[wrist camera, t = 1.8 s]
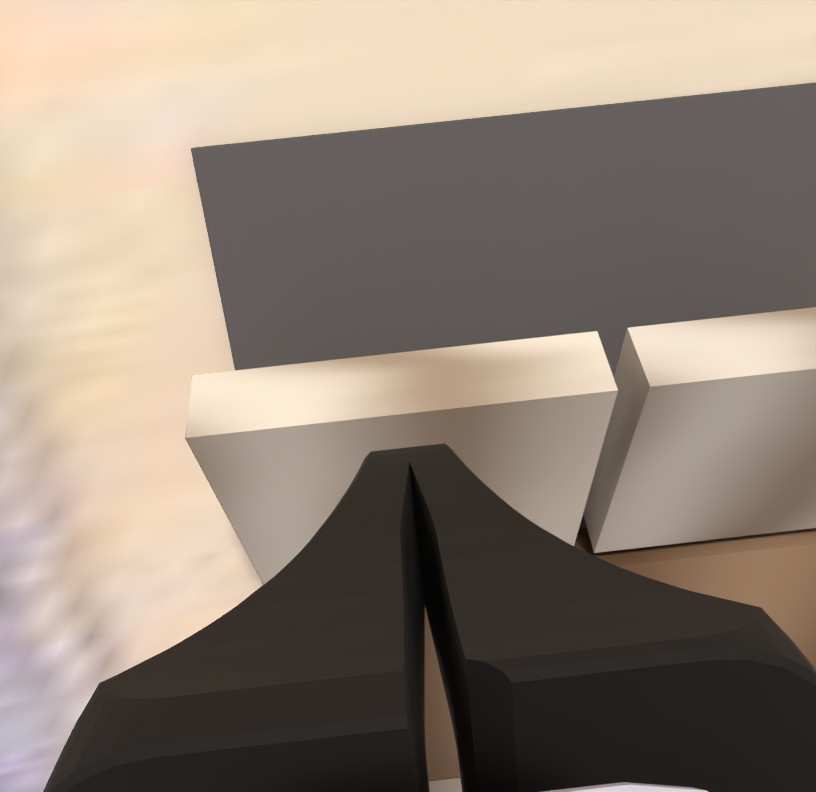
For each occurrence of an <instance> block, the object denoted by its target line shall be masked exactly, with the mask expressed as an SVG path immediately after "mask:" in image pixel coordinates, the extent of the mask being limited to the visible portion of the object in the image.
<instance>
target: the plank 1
mask: <svg viewBox="0 0 816 792" xmlns="http://www.w3.org/2000/svg"><path fill="white" fill-rule="evenodd" d="M617 392H618V389H617V386H616V383H615V380H614V377H613V375H612V372H611V369H610V366H609V363H608V360H607V357H606V355H605V352H604V349H603V346H602V343H601V340H600V338H599V335H598V332H597V331H593V332H584V333H575V334H565V335H556V336H547V337H538V338H529V339H520V340H510V341H501V342H492V343H483V344H474V345H465V346H455V347H446V348H437V349H428V350H419V351H410V352H400V353H391V354H382V355H373V356H364V357H355V358H345V359H336V360H327V361H318V362H309V363H300V364H290V365H281V366H272V367H263V368H254V369H244V370H235V371H226V372H217V373H208V374H199V375H192V383H191V392H190V400H189V409H188V417H187V426H186V434H185V439H186V441H187V443H188V444H189V446H190V448H191V450H192V452H193V454H194V456H195V458H196V459H197V461H198V463H199V465H200V467H201V469H202V471H203V472H204V474H205V476H206V478H207V480H208V482H209V484H210V486H211V487H212V489H213V491H214V493H215V495H216V497H217V499H218V501H219V502H220V504H221V506H222V508H223V510H224V512H225V514H226V515H227V517H228V519H229V521H230V523H231V525H232V527H233V529H234V530H235V532H236V534H237V536H238V538H239V540H240V542H241V544H242V545H243V547H244V549H245V551H246V553H247V555H248V557H249V558H250V560H251V562H252V564H253V566H254V568H255V570H256V572H257V573H258V575H259V577H260V579H261V581H262V583H263V585H264V584H265V583H267V582H268V581H269V580H270V579H272V578H273V577H274V576H275V575H276V574H277V573H279V572H280V571H281V570H282V569H283V568H284V567H285V566H286V565H287V564H288V563H289V562H290V561H291V560H292V559H293V558H294V557H295V556H296V555H297V554H298V553H299V552H300V551H301V550H302V549H303V548H304V547H305V546H306V544H307V543H308V542H309V541H310V540H311V538H312V537H313V536H314V535H315V533H316V532H317V531H318V530H319V528H320V527H321V526H322V525H323V523H324V522H325V521H326V520H327V518H328V517H329V516H330V514H331V513H332V512H333V510H334V509H335V507H336V506H337V504H338V503H339V501H340V500H341V498H342V497H343V495H344V494H345V492H346V491H347V489H348V488H349V486H350V484H351V483H352V481H353V479H354V478H355V476H356V474H357V472H358V470H359V469H360V467H361V465H362V463H363V461H364V458H365V457H366V456H367V455H368V454H369V453H370V452H371V451H380V450H389V449H398V448H407V447H416V446H425V445H434V444H443V443H445V444H446V445H448V446H449V447H450V448H451V449H452V450H453V451H454V452H455V453H456V455H457V456H458V457H459V458H460V459H461V460H462V461H463V463H464V464H465V465H466V466H467V467H468V468H469V469H470V470H471V471H472V472H473V473H474V474H475V475H476V476H477V477H478V478H479V479H480V480H481V481H482V482H483V483H484V484H486V485H487V486H488V487H489V488H490V489H491V490H492V491H493V492H494V493H496V494H497V495H498V496H499V497H500V498H501V499H502V500H504V501H505V502H506V503H507V504H508V505H510V506H511V507H512V508H513V509H515V510H516V511H517V512H519V513H520V514H522V515H523V516H524V517H526V518H527V519H529V520H530V521H532V522H533V523H535V524H536V525H538V526H539V527H541V528H543V529H544V530H546V531H548V532H549V533H551V534H553V535H555V536H556V537H558V538H560V539H561V540H563V541H565V542H567V543H569V544H570V545H572V546H574V544H575V541H576V537H577V534H578V530H579V527H580V523H581V520H582V516H583V512H584V509H585V505H586V502H587V498H588V495H589V491H590V488H591V484H592V481H593V477H594V474H595V470H596V466H597V463H598V459H599V456H600V452H601V449H602V445H603V442H604V438H605V435H606V431H607V428H608V424H609V420H610V417H611V413H612V410H613V406H614V403H615V399H616V396H617Z"/></svg>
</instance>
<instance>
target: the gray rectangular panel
mask: <svg viewBox="0 0 816 792" xmlns="http://www.w3.org/2000/svg"><path fill="white" fill-rule="evenodd" d="M191 152H192V157H193V162H194V167H195V172H196V177H197V182H198V187H199V192H200V197H201V202H202V207H203V212H204V217H205V222H206V227H207V232H208V237H209V242H210V247H211V252H212V257H213V262H214V267H215V272H216V277H217V282H218V287H219V292H220V297H221V302H222V307H223V312H224V317H225V322H226V327H227V332H228V337H229V342H230V347H231V352H232V357H233V362H234V367H235V370H244V369H254V368H263V367H272V366H281V365H290V364H300V363H309V362H318V361H327V360H336V359H345V358H355V357H364V356H373V355H382V354H391V353H400V352H410V351H419V350H428V349H437V348H446V347H455V346H465V345H474V344H483V343H492V342H501V341H510V340H520V339H529V338H538V337H547V336H556V335H565V334H575V333H584V332H593V331H597V332H598V335H599V338H600V340H601V343H602V346H603V349H604V352H605V355H606V357H607V360H608V363H609V366H610V369H611V372H612V375H613V377H614V375H615V372H616V368H617V364H618V360H619V357H620V353H621V349H622V346H623V342H624V338H625V334H626V331H627V328H630V327H639V326H648V325H657V324H666V323H676V322H685V321H694V320H703V319H712V318H721V317H731V316H740V315H749V314H758V313H767V312H776V311H786V310H795V309H804V308H813V307H816V83H807V84H798V85H788V86H779V87H769V88H760V89H750V90H740V91H731V92H721V93H712V94H702V95H693V96H683V97H674V98H664V99H655V100H645V101H636V102H626V103H616V104H607V105H597V106H588V107H578V108H569V109H559V110H550V111H540V112H531V113H521V114H512V115H502V116H493V117H483V118H473V119H464V120H454V121H445V122H435V123H426V124H416V125H407V126H397V127H388V128H378V129H369V130H359V131H349V132H340V133H330V134H321V135H311V136H302V137H292V138H283V139H273V140H264V141H254V142H245V143H235V144H225V145H216V146H206V147H197V148H191ZM582 528H587V526H586V522H585V519H584V515H583V516H582V520H581V523H580V527H579V529H582Z"/></svg>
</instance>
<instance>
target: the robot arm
mask: <svg viewBox="0 0 816 792" xmlns="http://www.w3.org/2000/svg"><path fill="white" fill-rule="evenodd" d="M425 608H426V612H427V617H428V621H429V625H430V630H431V634H432V638H433V643H434V647H435V651H436V656H437V660H438V664H439V669H440V673H441V677H442V682H443V686H444V690H445V695H446V699H447V703H448V707H449V712H450V716H451V720H452V726H453V731H454V736H455V742H456V747H457V754H458V761H459V769H460V776H461V784H462V792H816V670H815V668H814V667H813V666H812V664H811V663H810V662H809V660H808V659H807V658H806V657H805V655H804V654H803V653H802V652H801V651H800V649H799V648H798V647H797V646H796V644H795V643H794V642H793V641H792V640H791V639H790V638H789V637H788V635H787V634H786V633H785V632H784V631H783V630H782V629H781V628H780V627H779V626H778V625H777V624H776V623H775V622H774V621H773V620H772V619H771V617H770V616H769V615H768V614H767V613H766V612H765V611H764V610H763V609H762V608H761V607H757V606H753V605H749V604H744V603H740V602H736V601H732V600H727V599H723V598H719V597H715V596H710V595H706V594H702V593H698V592H693V591H689V590H686V589H682V588H679V587H676V586H673V585H669V584H666V583H663V582H660V581H657V580H654V579H651V578H648V577H645V576H642V575H639V574H637V573H634V572H631V571H629V570H626V569H623V568H621V567H618V566H616V565H613V564H611V563H609V562H607V561H604V560H602V559H600V558H598V557H596V556H593V555H591V554H589V553H587V552H584V551H582V550H580V549H578V548H576V547H574V546H572V545H570V544H569V543H567V542H565V541H563V540H561V539H560V538H558V537H556V536H555V535H553V534H551V533H549V532H548V531H546V530H544V529H543V528H541V527H539V526H538V525H536V524H535V523H533V522H532V521H530V520H529V519H527V518H526V517H524V516H523V515H522V514H520V513H519V512H517V511H516V510H515V509H513V508H512V507H511V506H510V505H508V504H507V503H506V502H505V501H504V500H502V499H501V498H500V497H499V496H498V495H497V494H496V493H494V492H493V491H492V490H491V489H490V488H489V487H488V486H487V485H486V484H484V483H483V482H482V481H481V480H480V479H479V478H478V477H477V476H476V475H475V474H474V473H473V472H472V471H471V470H470V469H469V468H468V467H467V466H466V465H465V464H464V463H463V461H462V460H461V459H460V458H459V457H458V456H457V455H456V453H455V452H454V451H453V450H452V449H451V448H450V447H449V446H448V445H446V444H445V443H443V444H434V445H425V446H416V447H407V448H398V449H389V450H380V451H371V452H370V453H369V454H368V455H367V456H366V457H365V458H364V461H363V463H362V465H361V467H360V469H359V470H358V472H357V474H356V476H355V478H354V479H353V481H352V483H351V484H350V486H349V488H348V489H347V491H346V492H345V494H344V495H343V497H342V498H341V500H340V501H339V503H338V504H337V506H336V507H335V509H334V510H333V512H332V513H331V514H330V516H329V517H328V518H327V520H326V521H325V522H324V523H323V525H322V526H321V527H320V528H319V530H318V531H317V532H316V533H315V535H314V536H313V537H312V538H311V540H310V541H309V542H308V543H307V544H306V546H305V547H304V548H303V549H302V550H301V551H300V552H299V553H298V554H297V555H296V556H295V557H294V558H293V559H292V560H291V561H290V562H289V563H288V564H287V565H286V566H285V567H284V568H283V569H282V570H281V571H280V572H279V573H277V574H276V575H275V576H274V577H273V578H272V579H270V580H269V581H268V582H267V583H265V584H264V585H263V586H262V587H260V588H259V589H258V590H256V591H255V592H254V593H253V594H251V595H250V596H249V597H248V598H246V599H245V600H244V601H243V602H241V603H240V604H239V605H238V606H236V607H235V608H233V609H232V610H231V611H229V612H228V613H226V614H225V615H223V616H222V617H220V618H219V619H217V620H216V621H214V622H213V623H211V624H210V625H208V626H206V627H205V628H203V629H202V630H200V631H198V632H197V633H195V634H193V635H192V636H190V637H188V638H187V639H185V640H183V641H182V642H180V643H178V644H176V645H175V646H173V647H171V648H169V649H168V650H166V651H164V652H162V653H160V654H158V655H156V656H154V657H152V658H150V659H148V660H146V661H144V662H142V663H140V664H138V665H136V666H134V667H132V668H130V669H128V670H126V671H124V672H122V673H120V674H118V675H116V676H114V677H112V678H110V679H107V680H105V681H103V682H101V683H99V685H98V687H97V688H96V690H95V692H94V694H93V695H92V697H91V699H90V700H89V702H88V704H87V706H86V707H85V709H84V711H83V712H82V714H81V716H80V717H79V719H78V721H77V722H76V724H75V726H74V728H73V730H72V732H71V734H70V736H69V738H68V740H67V742H66V744H65V746H64V748H63V750H62V753H61V755H60V757H59V759H58V761H57V763H56V765H55V768H54V770H53V772H52V774H51V776H50V778H49V780H48V782H47V785H46V787H45V789H44V791H43V792H429V781H428V771H427V760H426V745H425Z"/></svg>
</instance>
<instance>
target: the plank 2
mask: <svg viewBox="0 0 816 792" xmlns="http://www.w3.org/2000/svg"><path fill="white" fill-rule="evenodd" d="M614 380H615V383H616V386H617V389H618V392H617V396H616V399H615V403H614V406H613V410H612V413H611V417H610V420H609V424H608V428H607V431H606V435H605V438H604V442H603V445H602V449H601V452H600V456H599V459H598V463H597V466H596V470H595V474H594V477H593V481H592V484H591V488H590V491H589V495H588V498H587V502H586V505H585V509H584V512H583V515H584V519H585V522H586V526H587V529H588V533H589V537H590V540H591V544H592V548H593V551H594V553H599V552H608V551H616V550H625V549H634V548H643V547H652V546H661V545H670V544H678V543H687V542H696V541H705V540H714V539H723V538H731V537H740V536H749V535H758V534H767V533H776V532H784V531H793V530H802V529H811V528H816V307H813V308H804V309H795V310H786V311H776V312H767V313H758V314H749V315H740V316H731V317H721V318H712V319H703V320H694V321H685V322H676V323H666V324H657V325H648V326H639V327H630V328H627V331H626V334H625V338H624V342H623V346H622V349H621V353H620V357H619V360H618V364H617V368H616V372H615V375H614Z"/></svg>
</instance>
